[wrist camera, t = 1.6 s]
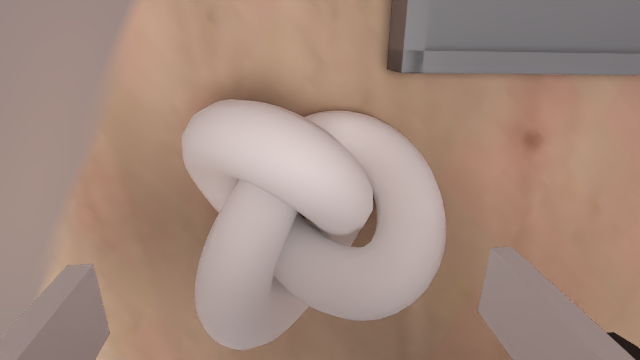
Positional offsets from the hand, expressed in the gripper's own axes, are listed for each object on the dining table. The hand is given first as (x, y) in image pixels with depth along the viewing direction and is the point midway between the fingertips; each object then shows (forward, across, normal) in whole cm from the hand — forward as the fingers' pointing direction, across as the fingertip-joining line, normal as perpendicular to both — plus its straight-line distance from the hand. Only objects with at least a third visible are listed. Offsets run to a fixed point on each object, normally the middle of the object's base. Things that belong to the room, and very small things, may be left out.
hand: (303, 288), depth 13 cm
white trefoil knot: (+10, 0, +1) cm, 10 cm away
